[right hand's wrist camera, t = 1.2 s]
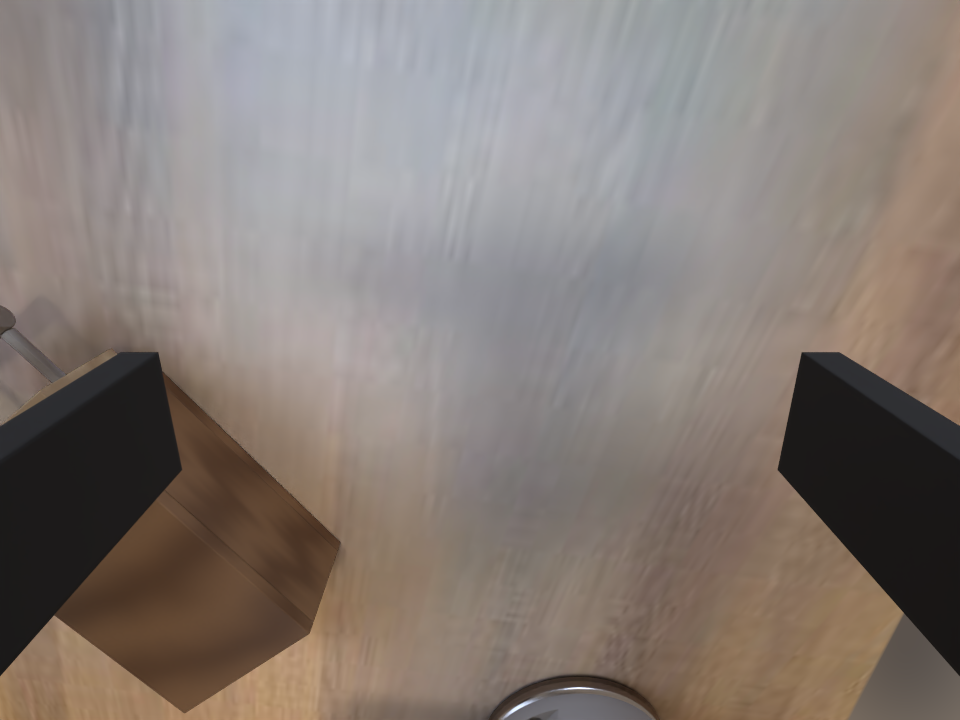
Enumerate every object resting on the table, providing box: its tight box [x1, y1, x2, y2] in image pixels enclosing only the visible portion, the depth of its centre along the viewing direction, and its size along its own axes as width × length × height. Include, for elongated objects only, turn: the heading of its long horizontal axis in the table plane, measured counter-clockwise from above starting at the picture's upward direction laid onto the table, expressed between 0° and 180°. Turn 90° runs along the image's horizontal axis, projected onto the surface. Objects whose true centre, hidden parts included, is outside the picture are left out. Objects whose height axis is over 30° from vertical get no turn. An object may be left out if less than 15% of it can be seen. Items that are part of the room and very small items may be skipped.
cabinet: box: [55, 372, 340, 713], centre depth 38 cm, size 18×11×8 cm, turn 38°
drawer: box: [0, 305, 117, 426], centre depth 36 cm, size 22×10×6 cm, turn 38°
